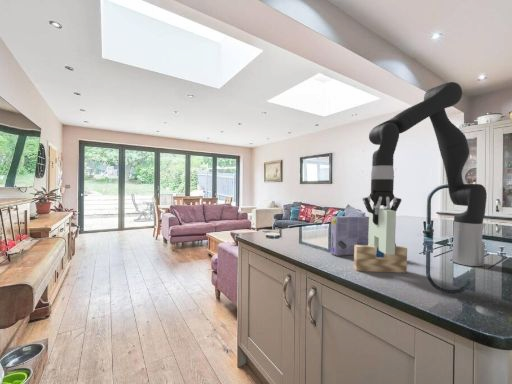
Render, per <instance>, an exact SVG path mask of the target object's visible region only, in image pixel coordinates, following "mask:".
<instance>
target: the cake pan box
mask: <svg viewBox="0 0 512 384" xmlns="http://www.w3.org/2000/svg"><path fill="white" fill-rule="evenodd" d="M330 223H331V226H330V232H331V233H330V254H331V255H334V256H336V257H339V256H340V257H342V256H354V245H369V244H368V239H369V216H363V215H362V216H359V215H358V216H352V215H351V216H349V215H346V216H344V215H343V216H341V215H340V216H337V215H336V216H335V215H334V216H331V222H330Z"/></svg>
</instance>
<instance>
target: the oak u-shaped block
mask: <svg viewBox="0 0 512 384" xmlns="http://www.w3.org/2000/svg"><path fill="white" fill-rule="evenodd" d="M376 248H377V247H375V246H373V245H370V244H368V245H354V255H353V269H354V270H355V271H356V272H357V271H358V272H377V273H378V272H380V273H382V272H383V273H402V272H403V273H404V274H406V273H407V269H408V268H407V266H408V248H407V247H405V246H398V245H396V246H395V255H389V254H384V258H382V257H376Z"/></svg>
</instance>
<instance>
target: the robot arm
mask: <svg viewBox="0 0 512 384" xmlns="http://www.w3.org/2000/svg"><path fill="white" fill-rule="evenodd" d="M462 96H463V89H462V87H461V85H460V84H459V83H458V82H455V81H451V82H445V83H442V84H439V85H437V86H435V87H432V88H430V89H428V90H427V91H426V92H425V93H424V97H423V100H422V101H421V102H419V103H417V104H414V105H413V106H410V107H407V108H405V109H404V110H402V111H400V112H399V113H397V114H396V115H395V116H393V117H391V118H390V119H388V120H386V121H384V122H381V123H379V124H378V125H375V126H374V127H372V129H371V130H370V131H369V135H368V139H369V141H370V143H372V144H373V145H376V146H377V145H378V146H379V147H378V149H377V150H375V151H374V152H373V154H372V159H371V161H372V165H371V173H370V194H369V195H368V196H366V197H362V202H363V204H364V205H365V206H364V207H365V209H366V211H367V213H369V212H370V213H372V214H373V223H374V224H375V225H378V211H379V208H381V206H382V208H383V209H388V210H393V211H396V212H397V211H398V208H399V207H400V205H401V203H402V198H399V197H396V196H395V194H394V186H395V185H394V184H395V183H394V182H395V181H394V180H395V171H394V155H395V151H396V149H397V146H398V142H399V138H400V134H403V133H405V132H406V131H408V130H410V129H411V128H413V127H414V126H416V125H418V124H419V123H421V122H423V121H425V120H426V119H427V118H429V119H430V123H431V124H432V128H433V131H434V133H435V134H434V135H435V137H436V141H437V145H438V150H439V154H440V157H441V159H442V164H443V166H444V170H445V175H446V181H447V189H448V195H449V198H450V200H451V202H452V203H453V204H454V205H457V206H464V207H467V208H466V210H464V212H461V213H456V214H454V217H453V239H452V240H453V241H452V262H453V263H455V264H459V265H464V266H470V267H481V266H485V249H486V248H485V247H486V245H485V242H484V241H483V231H484V230H483V229H484V228H483V225H484V224H483V223H484V219H485V214H486V208H487V207H486V206H487V205H486V204H487V196H488V195H487V189H486V187H485V186H484V185H483V184H481V183H480V184H479V183H464V181H463V174H462V173H463V169H464V166H465V165H466V163H467V161H468V159H469V157H470V148H469V144H468V139H467V137H466V135H465V133H464V132H463V131H462V130H461V129H460V128H458V127H457V126H456V125H455V124H454V123H453V122H451V120H450V119H449V116H448V115H447V112H446V109H447V108H451V107H453V106H456V104H458V103H459V102H460V101H461V99H462ZM371 201H372V202H373V203H372V204H371ZM390 203H392V204H390ZM372 207H373V209H372Z"/></svg>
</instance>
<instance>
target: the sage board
mask: <svg viewBox="0 0 512 384" xmlns="http://www.w3.org/2000/svg"><path fill="white" fill-rule="evenodd" d="M371 207H372V209H373V206H371ZM368 217H369V232H368V245H373V246H375V247H376V248H377V247H379V251H381V252H383V253H384V254H389V255H395V243H396V228H397V227H396V222H397V211H393V210H388V209H384V208H383V207H380V208H379V211H378V225H375V224H374V223H373V214H372V213H370V212H368Z"/></svg>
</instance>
